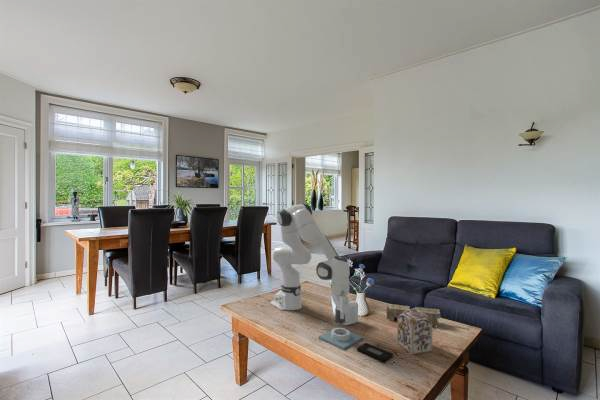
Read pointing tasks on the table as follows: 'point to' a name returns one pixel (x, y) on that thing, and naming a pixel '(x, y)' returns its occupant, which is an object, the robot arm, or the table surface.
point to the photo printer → (351, 313)
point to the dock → (340, 343)
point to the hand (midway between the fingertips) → (340, 316)
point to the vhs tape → (375, 352)
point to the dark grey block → (338, 316)
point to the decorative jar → (414, 331)
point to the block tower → (397, 310)
